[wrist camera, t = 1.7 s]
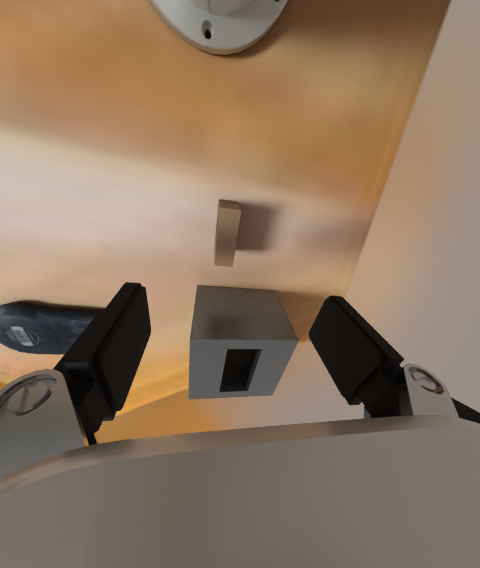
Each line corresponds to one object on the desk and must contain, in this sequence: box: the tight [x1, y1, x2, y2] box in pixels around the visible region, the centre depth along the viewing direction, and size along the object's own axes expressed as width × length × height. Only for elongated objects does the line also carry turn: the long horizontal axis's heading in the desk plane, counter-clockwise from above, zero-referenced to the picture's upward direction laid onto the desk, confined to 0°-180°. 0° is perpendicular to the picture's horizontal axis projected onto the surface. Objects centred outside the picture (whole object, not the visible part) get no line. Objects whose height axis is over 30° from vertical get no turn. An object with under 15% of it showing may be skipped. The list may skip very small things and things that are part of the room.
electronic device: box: [0, 303, 100, 354], centre depth 26 cm, size 9×6×15 cm
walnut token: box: [214, 199, 241, 267], centre depth 21 cm, size 6×2×5 cm, turn 171°
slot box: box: [189, 285, 299, 399], centre depth 27 cm, size 12×12×10 cm
